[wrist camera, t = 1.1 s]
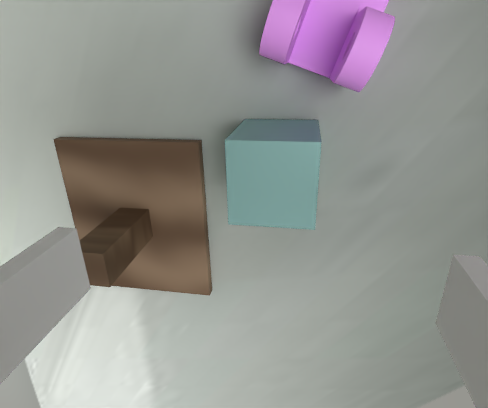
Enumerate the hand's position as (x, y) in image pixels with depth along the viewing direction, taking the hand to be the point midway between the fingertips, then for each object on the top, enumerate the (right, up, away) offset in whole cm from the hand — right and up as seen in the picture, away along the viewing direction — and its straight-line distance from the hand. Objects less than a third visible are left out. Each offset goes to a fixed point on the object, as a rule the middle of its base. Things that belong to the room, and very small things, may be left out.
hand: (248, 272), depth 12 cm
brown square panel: (-9, +1, +18) cm, 20 cm away
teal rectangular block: (+3, +6, +13) cm, 15 cm away
